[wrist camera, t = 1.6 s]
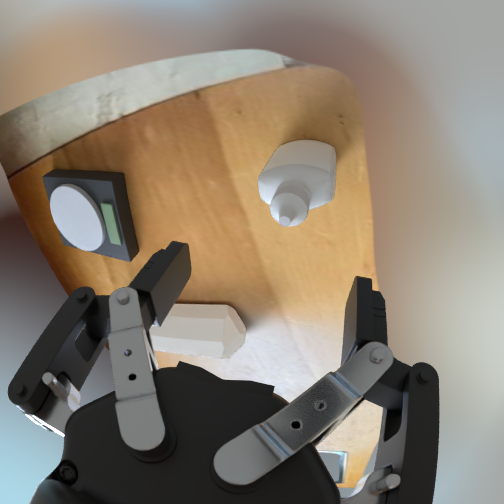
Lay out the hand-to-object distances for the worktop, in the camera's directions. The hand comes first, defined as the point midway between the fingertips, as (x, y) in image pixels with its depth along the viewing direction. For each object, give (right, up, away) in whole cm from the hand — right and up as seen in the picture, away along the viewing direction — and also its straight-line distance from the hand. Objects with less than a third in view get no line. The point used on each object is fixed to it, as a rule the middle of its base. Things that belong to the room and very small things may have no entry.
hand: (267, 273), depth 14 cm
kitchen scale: (-23, +7, +24) cm, 34 cm away
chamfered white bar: (-12, -9, +33) cm, 36 cm away
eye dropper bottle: (+4, +10, +13) cm, 17 cm away
